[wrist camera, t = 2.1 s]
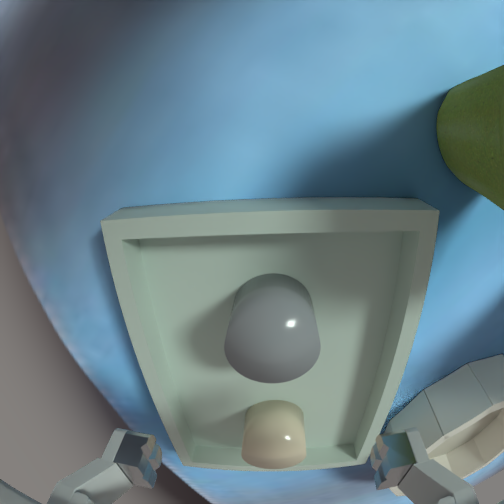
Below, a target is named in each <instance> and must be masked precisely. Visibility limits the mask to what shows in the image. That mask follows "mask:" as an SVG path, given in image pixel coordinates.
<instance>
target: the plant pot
mask: <svg viewBox="0 0 504 504" xmlns="http://www.w3.org/2000/svg"><path fill="white" fill-rule="evenodd" d="M437 138H438V144H439V148H440V151H441V154H442V157H443V159H444V161H445V163H446V165H447V167H448V168H449V169H450V170H451V171H452V172H453V174H454V175H455V176H456V177H457V178H458V179H459V180H460V181H461V182H463V183H464V184H465V185H467V186H468V187H470V188H472V189H473V190H475V191H476V192H478V193H480V194H481V195H483V196H484V197H486V198H487V199H489V200H490V201H492V202H493V203H494V204H496V205H497V206H499V207H500V208H501V209H503V210H504V65H502V66H500V67H498V68H496V69H493V70H491V71H489V72H487V73H484V74H482V75H480V76H477V77H475V78H472V79H470V80H467V81H465V82H463V83H461V84H459V85H457V86H455V87H453V88H452V89H451V90H450V91H449V92H448V94H447V96H446V97H445V99H444V101H443V103H442V105H441V107H440V109H439V111H438V116H437Z"/></svg>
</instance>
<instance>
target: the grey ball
mask: <svg viewBox="0 0 504 504" xmlns="http://www.w3.org/2000/svg"><path fill="white" fill-rule="evenodd" d="M320 350H321V344H320V338H319V333H318V328H317V323H316V318H315V313H314V308H313V303H312V299H311V296H310V294H309V292H308V290H307V289H306V287H305V286H304V285H303V284H302V283H300V282H299V281H298V280H296V279H294V278H292V277H290V276H287V275H284V274H278V273H269V274H263V275H259V276H256V277H254V278H252V279H250V280H248V281H247V282H246V283H244V284H243V285H242V286H241V287H240V289H239V290H238V292H237V293H236V295H235V298H234V302H233V306H232V311H231V315H230V320H229V324H228V329H227V333H226V338H225V343H224V351H225V356H226V358H227V360H228V362H229V364H230V365H231V366H232V367H233V368H234V369H235V370H236V371H237V372H238V373H239V374H241V375H242V376H244V377H246V378H248V379H250V380H253V381H257V382H261V383H283V382H288V381H291V380H294V379H296V378H298V377H300V376H302V375H304V374H305V373H306V372H308V371H309V370H310V369H311V368H312V367H313V366H314V364H315V363H316V361H317V360H318V357H319V355H320Z"/></svg>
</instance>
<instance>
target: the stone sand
mask: <svg viewBox="0 0 504 504" xmlns="http://www.w3.org/2000/svg"><path fill="white" fill-rule="evenodd" d="M241 456H242V458H243V460H244V461H245V462H247V463H248V464H250V465H252V466H255V467H258V468H264V469H283V468H288V467H292V466H294V465H297V464H299V463H300V462H302V461H303V460H304V459H305V457H306V440H305V425H304V414H303V411H302V409H301V408H300V407H299V406H297V405H296V404H294V403H291V402H288V401H283V400H267V401H262V402H259V403H256V404H254V405H253V406H251V407H250V408H249V409H248V410H247V411H246V414H245V422H244V432H243V442H242V452H241Z"/></svg>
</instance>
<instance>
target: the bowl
mask: <svg viewBox="0 0 504 504" xmlns="http://www.w3.org/2000/svg"><path fill="white" fill-rule="evenodd" d="M413 427H416V428H417V429H418V431H419V433H420V436H421V438H422V441H423V443H424V446H425V449H426V451H427V454H428V457H429V459H430V460H431V459H434V460H435V461H437V462H438V463H439V464H441V465H442V466H444V467H445V468H447V469H448V470H450V471H451V472H452V473H454V474H455V475H457V476H458V477H460V478H461V479H464V478H466V477H468V476H469V475H471V474H473V473H475V472H476V471H478V470H480V469H481V468H483V467H485V466H486V465H488V464H489V463H490V462H492V461H493V460H494V459H495V458H497V457H498V456H499V455H500V454H501V453H503V452H504V355H502V354H500V355H497V356H493V357H489V358H486V359H482V360H478V361H474V362H470V363H468V364H465V365H464V366H462V367H461V368H459V369H457V370H456V371H454V372H453V373H451V374H449V375H448V376H446V377H444V378H443V379H441V380H439V381H438V382H436V383H434V384H432V385H431V386H429V387H427V388H425V389H424V390H423V391H421V392H420V393H419V394H418V395H417V396H416V397H415V398H414V399H413V400H412V401H411V402H410V403H409V404H408V405H407V406H406V407H405V408H403V409H402V410H401V411H400V412H399V413H398V414H397V415H396V416H394V417H393V418H392V419H391V420H390V421H389V423H388V425H387V427H386V430H385V432H384V433H389V432H394V431H399V430H404V429H409V428H413ZM389 489H390V490H391V491H392V492H393V493H394V494H395V495H396V496H406V495H405V494H404V493H403V492H402V491H401V490H400V489H399V488H398V486H396V487H391V488H389Z"/></svg>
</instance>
